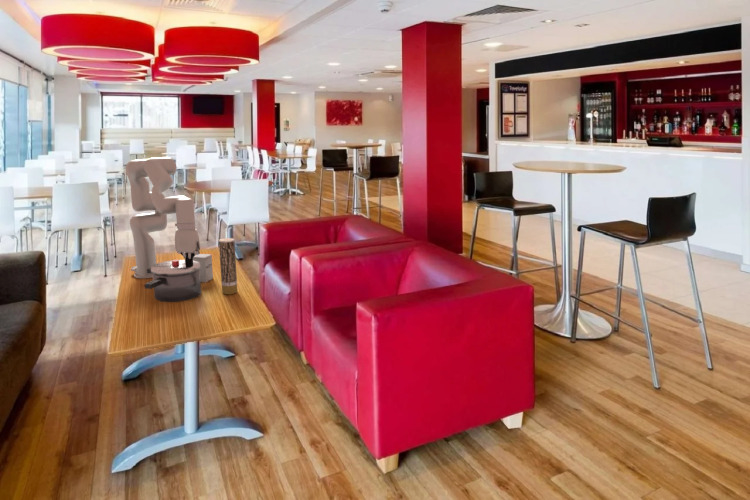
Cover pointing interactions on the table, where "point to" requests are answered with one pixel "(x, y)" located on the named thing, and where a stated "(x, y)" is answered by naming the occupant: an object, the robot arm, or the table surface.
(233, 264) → the brown cylindrical piece
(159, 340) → the table surface
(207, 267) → the supplement box
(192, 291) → the pressure cooker pot
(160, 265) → the cooker lid
